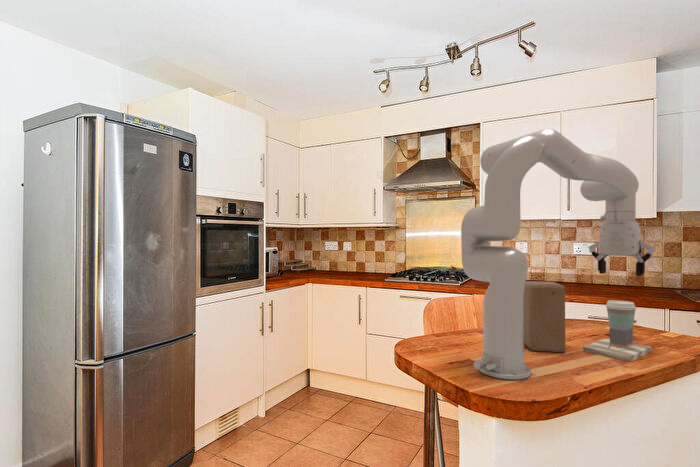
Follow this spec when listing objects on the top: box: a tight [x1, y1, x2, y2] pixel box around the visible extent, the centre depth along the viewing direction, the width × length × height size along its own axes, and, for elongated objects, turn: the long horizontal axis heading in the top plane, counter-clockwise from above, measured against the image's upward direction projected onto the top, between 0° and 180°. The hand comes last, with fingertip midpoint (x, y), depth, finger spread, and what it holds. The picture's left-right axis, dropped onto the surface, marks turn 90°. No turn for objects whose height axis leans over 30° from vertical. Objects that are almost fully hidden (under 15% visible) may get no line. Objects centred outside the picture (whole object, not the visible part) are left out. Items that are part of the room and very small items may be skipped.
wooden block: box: [524, 280, 566, 353], centre depth 118 cm, size 10×10×20 cm
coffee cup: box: [605, 299, 637, 329], centre depth 131 cm, size 8×8×12 cm
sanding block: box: [609, 326, 634, 348], centre depth 116 cm, size 6×4×5 cm, turn 126°
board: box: [582, 338, 653, 363], centre depth 114 cm, size 16×12×2 cm
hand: (620, 274), depth 116 cm, fingers open, 9 cm apart
